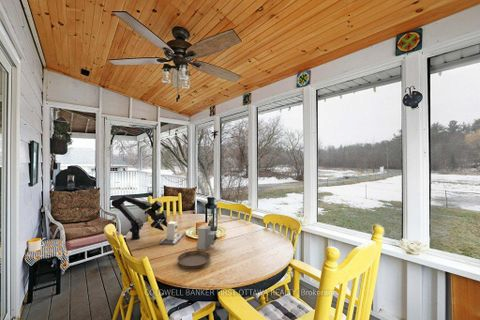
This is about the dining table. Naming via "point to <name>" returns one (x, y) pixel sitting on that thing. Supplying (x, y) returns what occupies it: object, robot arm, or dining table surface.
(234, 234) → the dining table surface
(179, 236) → the rail plate
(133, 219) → the robot arm
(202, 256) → the plant saucer
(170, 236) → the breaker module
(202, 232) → the circuit breaker
